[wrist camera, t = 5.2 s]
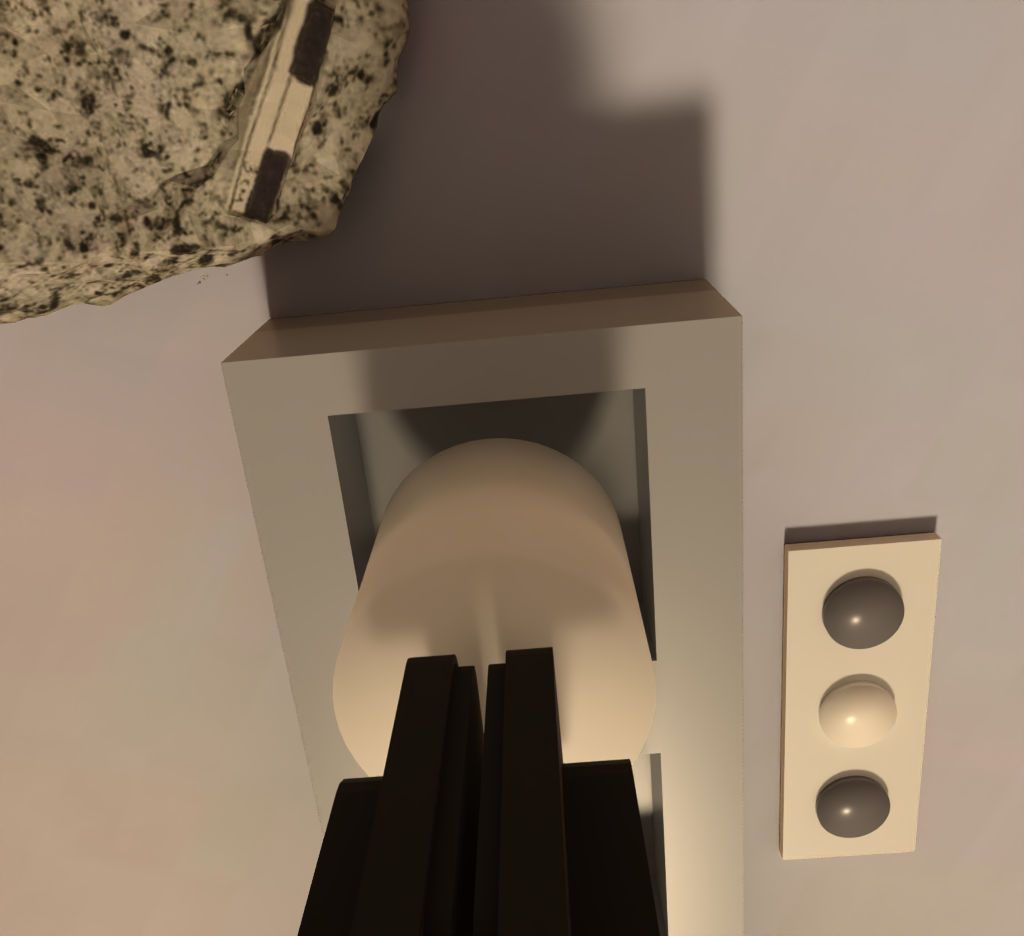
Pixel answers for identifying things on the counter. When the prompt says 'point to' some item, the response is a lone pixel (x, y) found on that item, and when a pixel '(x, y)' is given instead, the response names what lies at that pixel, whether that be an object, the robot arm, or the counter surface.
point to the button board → (569, 430)
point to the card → (855, 693)
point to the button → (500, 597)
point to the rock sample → (177, 135)
